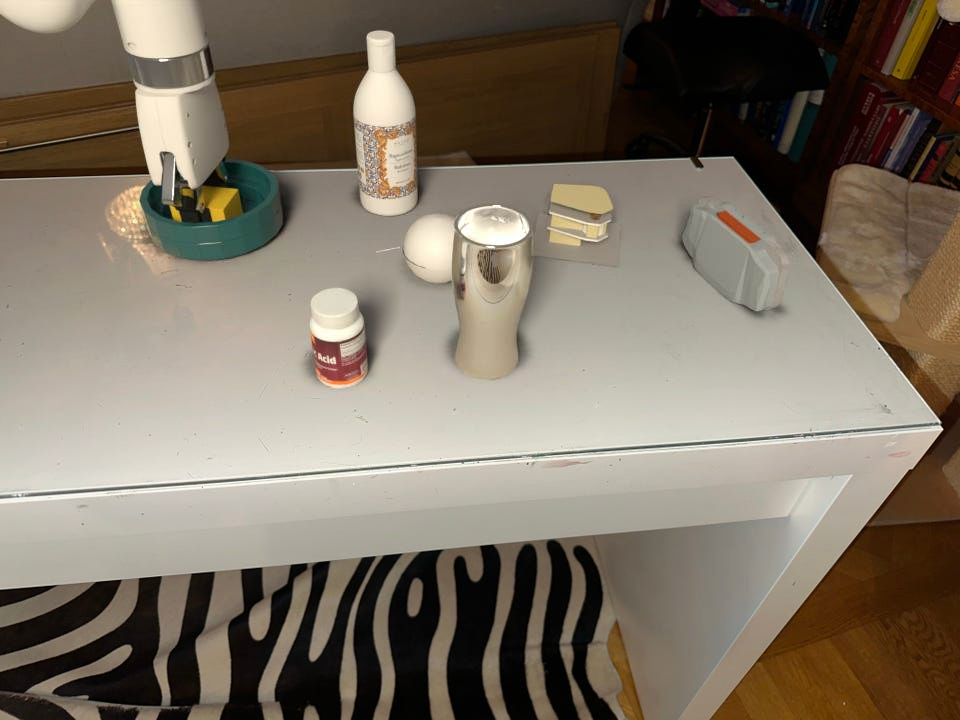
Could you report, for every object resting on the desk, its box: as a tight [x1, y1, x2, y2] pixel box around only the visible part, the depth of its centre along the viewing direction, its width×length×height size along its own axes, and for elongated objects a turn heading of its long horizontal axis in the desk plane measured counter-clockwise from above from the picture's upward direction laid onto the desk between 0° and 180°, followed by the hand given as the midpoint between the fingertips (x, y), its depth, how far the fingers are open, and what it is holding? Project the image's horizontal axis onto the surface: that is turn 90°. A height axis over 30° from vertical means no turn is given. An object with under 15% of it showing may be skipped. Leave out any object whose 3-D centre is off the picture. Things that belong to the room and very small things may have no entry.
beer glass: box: [451, 203, 535, 381], centre depth 67 cm, size 7×7×15 cm
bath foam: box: [352, 30, 419, 217], centre depth 85 cm, size 7×7×20 cm
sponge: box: [170, 186, 243, 222], centre depth 83 cm, size 6×4×4 cm
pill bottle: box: [308, 287, 369, 389], centre depth 67 cm, size 5×5×8 cm
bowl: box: [139, 158, 284, 262], centre depth 85 cm, size 15×15×5 cm
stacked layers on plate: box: [533, 183, 622, 268], centre depth 85 cm, size 10×9×6 cm
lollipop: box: [376, 212, 456, 284], centre depth 79 cm, size 10×7×7 cm
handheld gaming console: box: [681, 195, 791, 312], centre depth 79 cm, size 14×3×8 cm, turn 24°
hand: (210, 225), depth 84 cm, fingers closed on sponge, 4 cm apart
